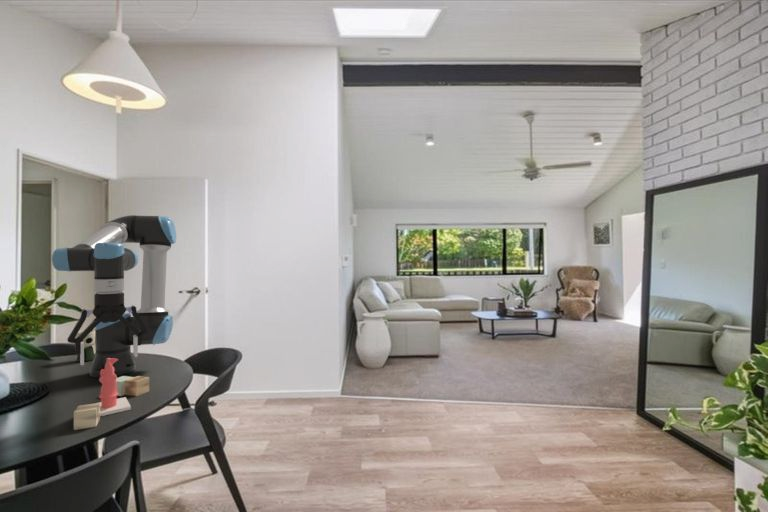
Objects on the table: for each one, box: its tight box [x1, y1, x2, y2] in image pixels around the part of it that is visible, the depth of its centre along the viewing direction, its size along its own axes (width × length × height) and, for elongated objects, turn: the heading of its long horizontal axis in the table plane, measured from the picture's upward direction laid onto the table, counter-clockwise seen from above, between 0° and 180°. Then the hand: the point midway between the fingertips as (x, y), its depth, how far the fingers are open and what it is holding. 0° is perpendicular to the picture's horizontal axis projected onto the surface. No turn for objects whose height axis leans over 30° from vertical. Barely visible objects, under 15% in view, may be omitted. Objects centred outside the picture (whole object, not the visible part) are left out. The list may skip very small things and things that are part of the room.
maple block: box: [73, 402, 101, 431], centre depth 108 cm, size 5×5×5 cm
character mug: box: [70, 329, 95, 362], centre depth 170 cm, size 11×7×13 cm, turn 119°
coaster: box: [98, 396, 132, 417], centre depth 118 cm, size 10×10×1 cm
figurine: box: [98, 358, 119, 408], centre depth 118 cm, size 5×5×15 cm
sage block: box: [116, 375, 134, 397], centre depth 132 cm, size 5×5×5 cm
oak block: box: [124, 375, 150, 397], centre depth 132 cm, size 5×5×5 cm
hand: (109, 360), depth 119 cm, fingers open, 13 cm apart
